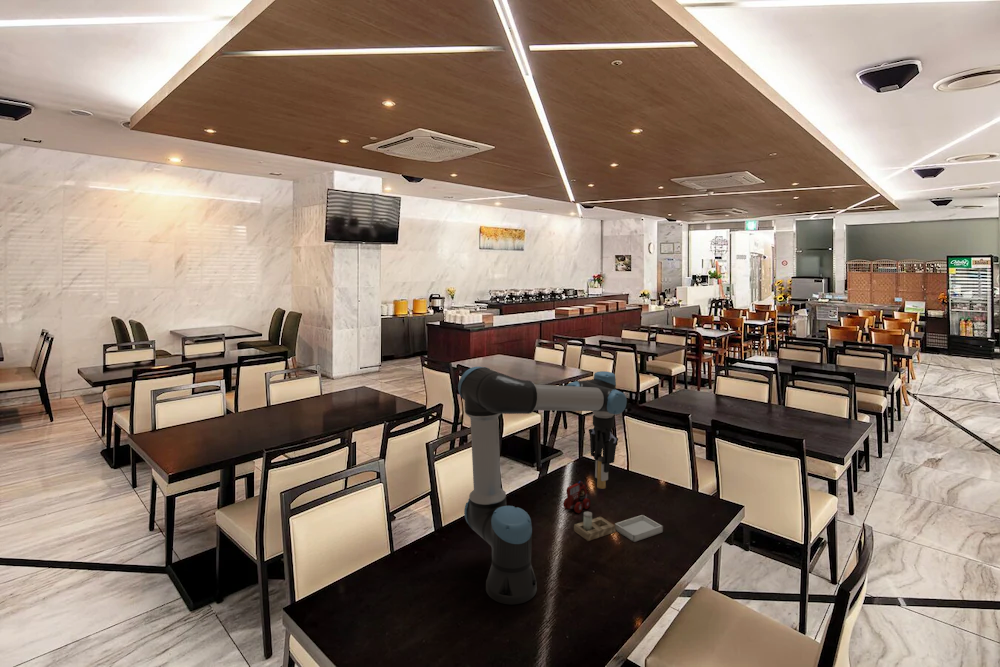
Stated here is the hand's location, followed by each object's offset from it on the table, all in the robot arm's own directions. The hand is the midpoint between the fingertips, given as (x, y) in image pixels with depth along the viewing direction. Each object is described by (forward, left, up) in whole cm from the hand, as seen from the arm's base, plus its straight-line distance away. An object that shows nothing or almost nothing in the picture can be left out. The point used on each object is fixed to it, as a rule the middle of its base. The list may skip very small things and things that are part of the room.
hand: (601, 478), depth 187 cm
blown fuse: (0, 0, -3) cm, 3 cm away
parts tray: (+12, -7, -20) cm, 24 cm away
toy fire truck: (+4, +18, -20) cm, 27 cm away
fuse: (-6, 0, -20) cm, 21 cm away
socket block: (-2, 0, -20) cm, 20 cm away
